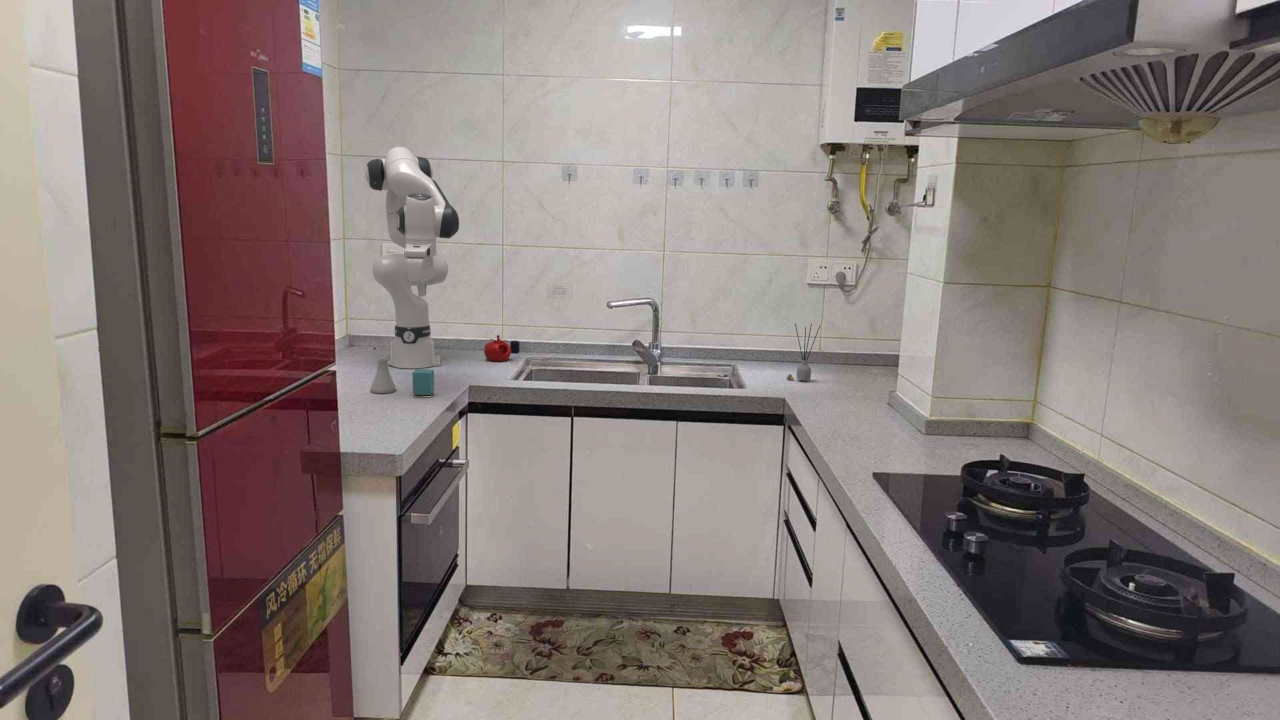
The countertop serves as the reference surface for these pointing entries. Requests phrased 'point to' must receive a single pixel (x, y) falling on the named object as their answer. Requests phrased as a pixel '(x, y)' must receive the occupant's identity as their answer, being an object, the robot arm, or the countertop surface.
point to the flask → (383, 378)
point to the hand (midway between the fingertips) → (422, 296)
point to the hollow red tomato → (497, 350)
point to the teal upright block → (423, 382)
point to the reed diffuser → (803, 362)
